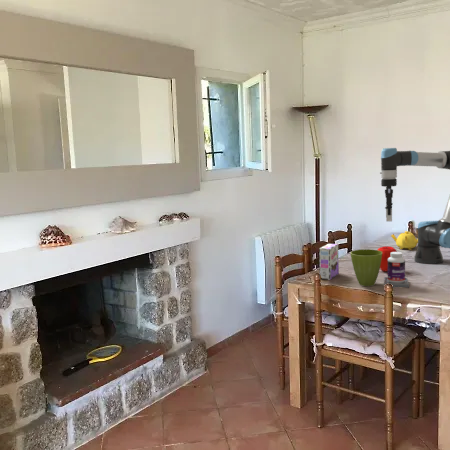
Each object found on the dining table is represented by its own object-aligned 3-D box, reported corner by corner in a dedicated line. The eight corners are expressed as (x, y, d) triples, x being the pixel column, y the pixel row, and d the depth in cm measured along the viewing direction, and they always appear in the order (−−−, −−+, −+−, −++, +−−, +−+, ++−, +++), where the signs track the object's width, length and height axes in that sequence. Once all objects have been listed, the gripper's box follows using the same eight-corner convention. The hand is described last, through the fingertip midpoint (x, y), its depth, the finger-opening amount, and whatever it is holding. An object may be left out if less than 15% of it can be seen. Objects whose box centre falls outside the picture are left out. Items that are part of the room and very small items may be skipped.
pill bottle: (391, 284, 242) (391, 255, 239) (384, 280, 250) (384, 251, 247) (407, 283, 242) (408, 254, 240) (400, 279, 250) (400, 250, 248)
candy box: (330, 280, 259) (329, 248, 257) (319, 279, 262) (318, 248, 260) (339, 273, 271) (338, 243, 268) (328, 272, 274) (328, 243, 271)
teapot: (425, 246, 327) (426, 229, 325) (419, 252, 312) (420, 234, 310) (394, 244, 338) (394, 228, 336) (386, 250, 323) (386, 232, 321)
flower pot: (346, 286, 247) (346, 254, 244) (356, 279, 259) (355, 248, 257) (377, 289, 239) (377, 256, 236) (385, 281, 251) (385, 250, 249)
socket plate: (407, 281, 250) (407, 277, 249) (408, 287, 239) (408, 283, 239) (384, 281, 253) (384, 277, 253) (384, 287, 242) (384, 283, 242)
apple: (398, 274, 265) (398, 248, 263) (374, 273, 269) (374, 248, 267) (398, 268, 276) (398, 244, 274) (376, 267, 280) (376, 244, 278)
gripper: (381, 176, 272) (381, 215, 276) (381, 180, 249) (381, 223, 252) (395, 176, 270) (395, 215, 273) (397, 180, 247) (397, 223, 250)
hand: (388, 219), depth 263 cm, fingers open, 13 cm apart
